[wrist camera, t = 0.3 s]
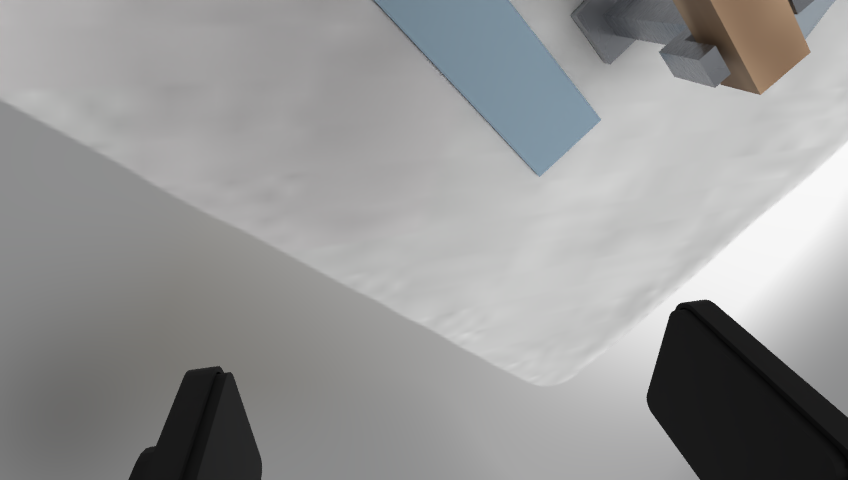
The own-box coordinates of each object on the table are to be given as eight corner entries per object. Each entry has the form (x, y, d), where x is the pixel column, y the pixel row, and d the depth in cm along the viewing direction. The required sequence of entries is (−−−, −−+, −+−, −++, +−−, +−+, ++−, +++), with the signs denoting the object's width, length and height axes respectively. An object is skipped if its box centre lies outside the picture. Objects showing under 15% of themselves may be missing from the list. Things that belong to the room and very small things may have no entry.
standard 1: (627, -43, 34) (792, -60, 22) (658, 9, 37) (824, 21, 24) (565, 20, 36) (686, 38, 23) (599, 67, 38) (726, 106, 25)
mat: (377, -166, 29) (378, -168, 28) (597, 118, 40) (601, 119, 40) (306, -72, 30) (306, -73, 30) (537, 174, 42) (539, 176, 41)
